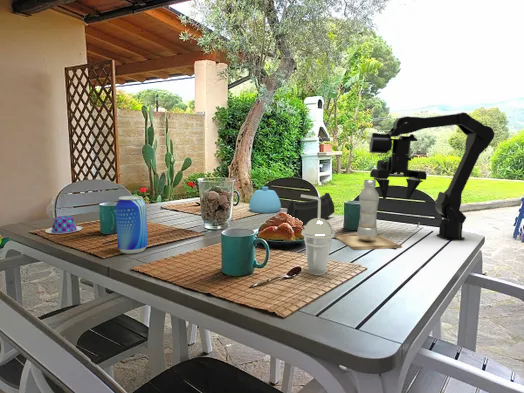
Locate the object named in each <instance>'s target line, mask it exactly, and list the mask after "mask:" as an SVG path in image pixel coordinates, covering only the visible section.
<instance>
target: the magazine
mask: <svg viewBox="0 0 524 393" xmlns="http://www.w3.org/2000/svg"><path fill="white" fill-rule="evenodd" d="M318 197H319V196H318ZM319 198H320V199H321V215H320V218H322V219H325V220H327V219H329V217H330V216H332V215H334V213H335V210H336V209H335V203H334V201H333V199H332V197H331V195H330V193H329V192H326V193H324V194H323V195H321V196H320V197H319ZM286 214H289V215H291V216H292V217H295V218H298V219H299V220H301V221H302V222H303V224H304V225H303V226H306V224H307V223H308V222H309V221H310V220H312V219H314V218H318V200H316V199H310V200H306V201H295V200H293V199H292V200H290V202H289V203H288V206H287V210H286Z"/></svg>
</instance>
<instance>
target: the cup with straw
mask: <svg viewBox="0 0 524 393" xmlns="http://www.w3.org/2000/svg"><path fill="white" fill-rule="evenodd" d="M299 198H304V199H310V200H314V199H316V200H318V218H314V219H312V220H310V221H309V222H308V223H307V224H306V225H304V229H302V230H301V236H302V237H304V238H303V239H304V244H305V251H306V252H305V253H306V263H307V268H308V269H307V273H308V274H310V275H313V274H314V276H323V275H322V274H324V275H326V274H327V268H328V263H329V256H330V249H331V246H332V243H333V238H335V236H336V235H337V234H336V232H335V231H334V230H333V227H332V225H331V223H330V222H329V221H328V220H327V219H326V218H325V219H322V218H320V215H321V199H320V198H319V196H315V195H314V196H313V195H307V194H299ZM325 273H326V274H325Z"/></svg>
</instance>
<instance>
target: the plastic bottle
mask: <svg viewBox="0 0 524 393" xmlns="http://www.w3.org/2000/svg"><path fill="white" fill-rule="evenodd" d="M376 182H377V181H376V180H374V179H364V180H363V186H364V187H363V189H361V191H360V192H359V195H358V200H359V220H358V221H359V222H358V225H357V226H358V227H357V232H356V234H357V235H358V238H359V239H360V240H364V241H374V240H375V239H376V238H377V234H379V233H378V227H377V226H378V225H377V223H378V222H377V213H378V206H379V201H380V195H379V192H378V190H377V189H376V188H375V187H376V186H377V185H376Z"/></svg>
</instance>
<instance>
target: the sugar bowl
mask: <svg viewBox="0 0 524 393" xmlns="http://www.w3.org/2000/svg"><path fill="white" fill-rule="evenodd" d="M248 208H249V209H250V211H251V212H253V213H256V212H257V214H274V213H277V212H279V211H280V209H281V208H282V204H281V200H280V198H279V195H278V194H277V192H276V191H275V190H273V189H269V186H262V187H261V189H257V190H255V191H254V193H253V194H252V196H251V197H250V200H249V204H248Z"/></svg>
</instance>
